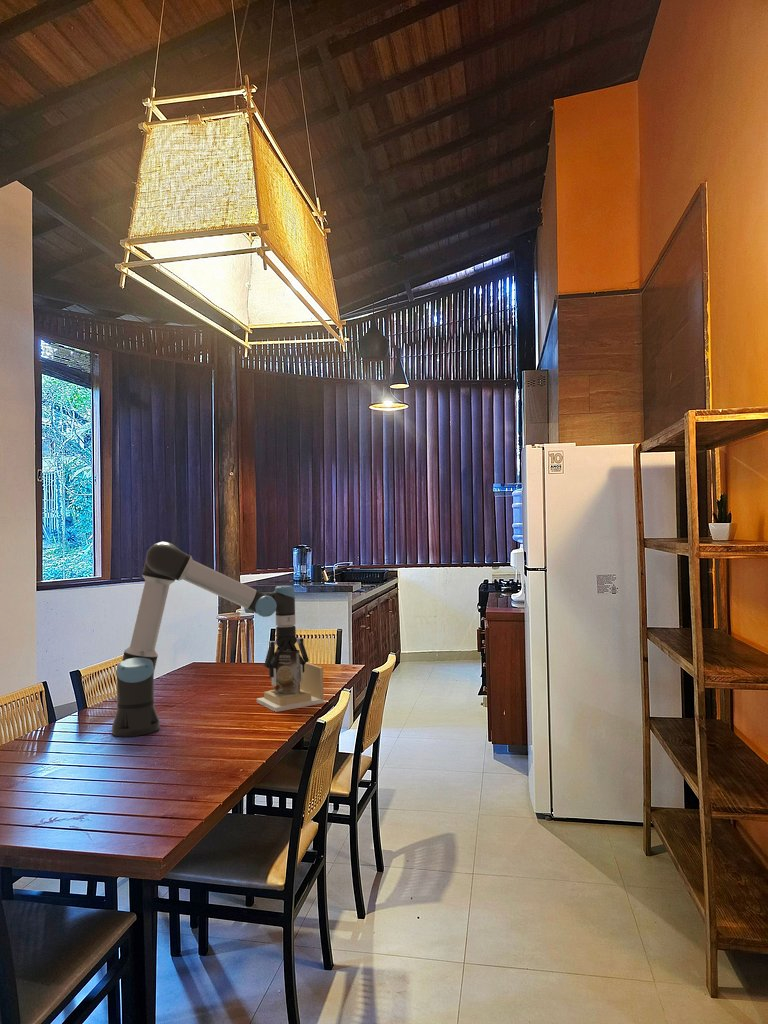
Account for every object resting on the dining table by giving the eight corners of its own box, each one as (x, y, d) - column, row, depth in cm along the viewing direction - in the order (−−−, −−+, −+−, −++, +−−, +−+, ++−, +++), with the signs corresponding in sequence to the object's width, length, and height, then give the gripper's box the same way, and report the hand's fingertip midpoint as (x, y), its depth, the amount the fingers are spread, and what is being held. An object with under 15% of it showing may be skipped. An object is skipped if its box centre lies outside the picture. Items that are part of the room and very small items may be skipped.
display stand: (275, 712, 238) (274, 675, 239) (256, 702, 253) (255, 667, 254) (323, 703, 249) (322, 667, 250) (303, 694, 264) (302, 660, 265)
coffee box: (273, 694, 248) (272, 652, 249) (277, 690, 254) (277, 649, 255) (297, 694, 247) (296, 652, 248) (300, 690, 254) (299, 649, 254)
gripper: (261, 630, 242) (263, 689, 242) (316, 623, 255) (318, 680, 254) (254, 628, 249) (255, 686, 248) (308, 622, 261) (309, 677, 260)
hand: (287, 683), depth 251 cm, fingers closed on coffee box, 10 cm apart
